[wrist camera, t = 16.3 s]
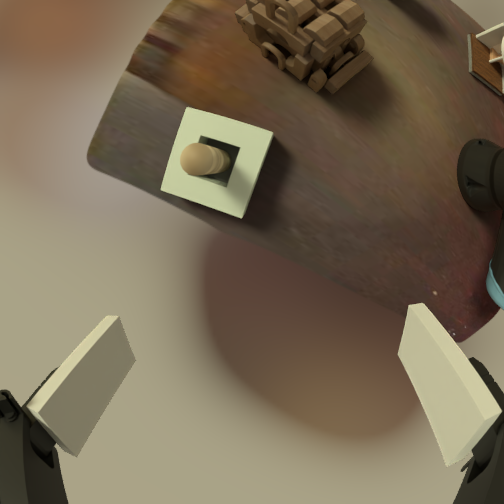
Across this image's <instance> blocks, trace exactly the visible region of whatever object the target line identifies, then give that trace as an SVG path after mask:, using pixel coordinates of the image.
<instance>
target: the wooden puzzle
mask: <svg viewBox="0 0 504 504" xmlns="http://www.w3.org/2000/svg"><path fill="white" fill-rule="evenodd" d="M246 3H247V4H245V5H244V6H243V7H241V8H240V9H239V10H237V11H236V12H235V15H236V18H237V21H238V23H240V24H241V25H242V28H243V31H244V32H245V33H247V34H248V37H249V40H250V41H252V42H253V43H255V44H256V45H257V46H259V47H260V48H261V52H262V55H263V56H264V57H265V58H266V57H267V56H269V51H271V52H272V53H273V54H274V55H275V56H276V57H277V58H278V68H279V69H280V70H284V69H285V68H286V69H287V70H289V71H290V72H291V73H292V74H293V75H295V76H296V77H297V78H298V79H299V80H300V81H302V80H303V79H304V78H305V77H306V76H307V75H309V73H310V70H311V69H312V70H313V71H314V73H313V74H312V75H311V77H310V79H309V81H308V84H307V85H308V86H309V87H311V88H312V89H313V90H314V91H315V92H318V91H319V90H320V89H321V88H322V87H323V86H324V87H325V88H326V89H327V90H328V91H329V92H330V93H331V94H334V93H335V92H336V91H338V90H339V89H340V88H341V87H342V86H343V85H344V84H345V83H346V82H347V81H348V80H350V79H351V78H352V77H353V76H354V75H355V74H357V73H358V72H360V71H361V70H362V69H363V68H364V67H366V66H367V65H368V64H369V63H370V62H371V61H372V60H373V59H374V58H373V57H372V56H371V55H370V54H369V53H368V52H366V51H365V50H364V51H362V52H361V53H360V54H359V55H357V54H358V53H359V52H360V51H361V49H362V48H363V47H364V39H363V38H362V36H361V35H360V34H358V33H360V32H361V30H362V29H363V27H364V26H365V24H366V23H367V20H365V19H364V18H365V16H364V11H363V10H362V9H361V8H360V6H359V5H358V4H357V3H354V2H352V1H350V0H246ZM303 24H305V25H307V26H305V27H304V28H302V27H303ZM276 44H279V45H281V46H283V47H284V48H286V49H287V50H288V51H289V52H290V53H291V56H290V57H289V58H288V59H285V57H284V55H283V54H282V53H281V52H280V51H279V50H278V49H277V48H276V47H274V46H275V45H276ZM343 51H344V52H345V53H346V54H345V55H344V56H343ZM356 55H357V56H356ZM355 56H356V57H355ZM353 57H355V58H354V59H352V58H353ZM351 59H352V60H351ZM350 60H351V61H350ZM349 61H350V62H349ZM342 64H343V65H345V66H344V67H343V68H341V69H340V70H339V71H338V72H337V70H338V69H339V67H340V66H341V65H342ZM327 66H329V67H330V68H331V69H330V71H329V73H328V75H329V76H330V77H331V78H330V79H328V81H327V77H326V74H325V73H324V70H325V69H326V68H327ZM336 72H337V73H336ZM326 81H327V82H326ZM325 83H326V84H325ZM324 84H325V85H324Z"/></svg>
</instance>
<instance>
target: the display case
mask: <svg viewBox="0 0 504 504" xmlns="http://www.w3.org/2000/svg"><path fill="white" fill-rule="evenodd" d="M468 49H469V73H471V74H472V75H474V76H475V77H476V78H478V79H479V80H481V81H482V82H483V83H484V84H486V85H487V86H488V87H490V88H491V89H492V90H493V91H495V92H496V93H497V94H498V95H499V96H501V95H504V23H501V24H499V25H497V26H495V27H492V28H490V29H488V30H486V31H484V32H482V33H480V34H478V35H475V34H473V33H470V34H469V35H468Z"/></svg>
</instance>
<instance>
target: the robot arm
mask: <svg viewBox="0 0 504 504" xmlns="http://www.w3.org/2000/svg"><path fill="white" fill-rule="evenodd" d="M457 177H458V184H459V188H460V191H461V193H462V196H463V197H464V199H465V201H466V202H467V203H468V204H469V205H470V206H471V207H472V208H474V209H477V210H479V211H483V212H490V211H496V210H503V213H502V218H501V223H500V228H499V233H498V237H497V242H496V246H495V250H494V253H493V257H492V259H491V261H490V264H489V271H488V275H487V279H486V286H487V291H488V293H489V295H490V296H491V298H492V299H493V300H494V301H495V303H496V304H497V305H498V306H499V307H501V308H502V309H503V310H504V148H502V147H500V146H498V145H497V144H495V143H493V142H491V141H489V140H486V139H472V140H470V141H469V142H467V143H466V144H465V145H464V147H463V148H462V150H461V153H460V155H459V159H458V166H457ZM398 356H399V357H400V359H401V361H402V363H403V365H404V367H405V370H406V372H407V374H408V375H409V378H410V380H411V382H412V384H413V386H414V388H415V390H416V393H417V395H418V397H419V399H420V401H421V403H422V406H423V408H424V411H425V413H426V415H427V417H428V420H429V422H430V424H431V427H432V430H433V432H434V434H435V437H436V440H437V442H438V445H439V447H440V450H441V453H442V455H443V458H444V461H445V464H446V466H449V465H451V464H454V463H456V462H458V461H460V460H462V459H464V458H465V457H466V456H467V455H468V454H469V452H470V451H471V450H472V453H473V455H474V456H473V457H472V458H471V459H470V460H469V461H468V462H467V463H466V464H465V465H464V466H463V468H462V469H461V472H463V471H464V470H465V469H466V468H467V467H468V469H467V471H466V474H465V477H464V479H463V482H462V484H461V487H460V489H459V491H458V494H457V496H456V498H455V500H454V502H453V504H504V393H503V392H502V391H501V389H500V387H499V386H498V384H497V383H496V382H494V379H493V378H492V376H491V375H489V372H488V370H487V369H486V368H485V366H484V365H483V364H482V363H481V362H479V361H478V360H476V359H475V358H474V357H472V358H469V359H467V358H466V356H465V355H464V354H463V352H462V351H461V349H460V348H459V347H458V345H457V344H456V343H455V342H454V340H453V339H452V338H451V336H450V335H449V334H448V333H447V331H446V330H445V329H444V328H443V326H442V325H441V324H440V323H439V321H438V320H437V319H436V318H435V317H434V315H433V314H432V313H431V312H430V311H429V309H428V308H427V307H426V306H425V305H424V304H423V303H420V304H413V305H409V307H408V312H407V317H406V322H405V326H404V331H403V336H402V340H401V344H400V348H399V351H398ZM135 361H136V360H135V357H134V355H133V352H132V350H131V347H130V345H129V342H128V339H127V337H126V334H125V331H124V329H123V326H122V323H121V320H120V317H119V316H109V315H107V316H106V317H105V318H104V319H103V320H102V321H101V322H100V323H99V324H98V325H97V326H96V327H95V328H94V330H93V331H92V332H91V333H90V334H89V335H88V336H87V337H86V338H85V339H84V340H83V342H81V343H80V345H79V346H78V347H77V348H76V349H75V350H74V351H73V352H72V353H71V354H70V356H69V357H68V358H67V359H66V360H65V361H64V362H63V364H61V366H59V367H58V368H56V369H55V370H53V371H52V372H51V373H50V374H49V375H48V376H47V378H46V380H44V381H43V382H42V383H41V386H39V387H38V388H37V389H36V390H35V392H34V393H33V394H32V395H31V397H30V398H29V399H28V400H27V401H26V403H25V404H24V405H23V406H22V407H20V405H19V404H18V403H17V401H16V400H15V399H14V397H13V396H12V395H11V393H10V391H8V390H0V504H68V500H67V496H66V493H65V489H64V484H63V480H62V475H61V470H60V464H59V458H58V452H57V450H56V448H55V447H54V445H55V444H56V443H57V444H58V445H59V446H60V447H61V448H62V449H63V450H64V451H65V452H67V453H69V454H71V455H73V456H75V457H77V456H78V454H79V453H80V451H81V449H82V447H83V446H84V444H85V442H86V441H87V439H88V437H89V435H90V434H91V432H92V430H93V429H94V427H95V425H96V423H97V422H98V420H99V419H100V417H101V415H102V414H103V412H104V410H105V409H106V407H107V405H108V404H109V402H110V400H111V399H112V397H113V396H114V394H115V392H116V391H117V389H118V388H119V386H120V384H121V383H122V381H123V380H124V378H125V376H126V375H127V373H128V372H129V370H130V369H131V367H132V365H133V364H134V362H135Z"/></svg>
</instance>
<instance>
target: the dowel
mask: <svg viewBox="0 0 504 504" xmlns="http://www.w3.org/2000/svg"><path fill="white" fill-rule="evenodd" d="M180 164H181V167H182V169H183V170H184V171H185V172H186V173H187V174H189V175H193V176H198V175H206V174H215V173H222V172H225V171H227V170H228V169H229V168H230V166H231V156H230V155H229V153H228V152H226V151H224V150H221V149H218V148H215V147H211V146H208V145H205V144H201V143H192V144H190V145H188V146H187V147H185V148H184V150H183V151H182V153H181V156H180Z"/></svg>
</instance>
